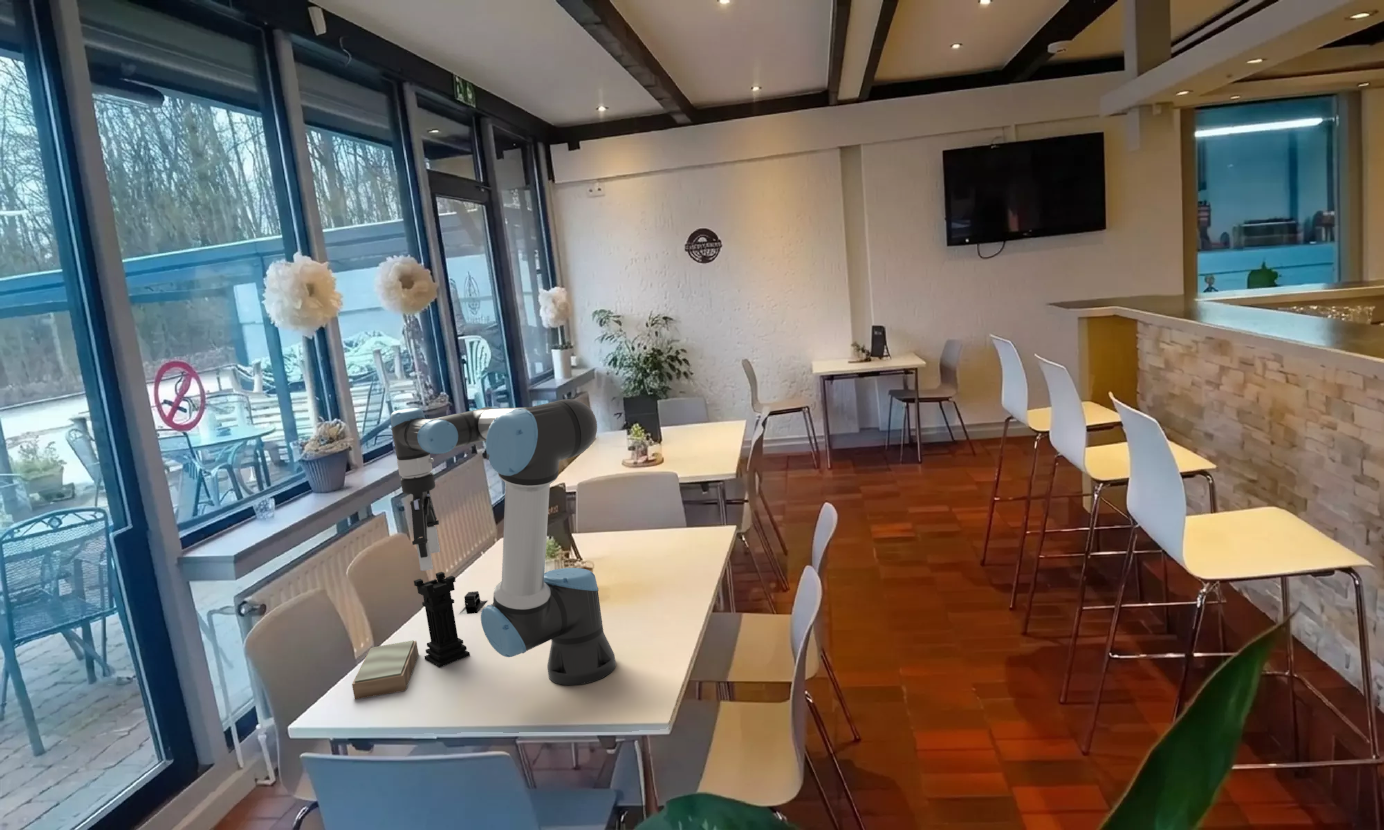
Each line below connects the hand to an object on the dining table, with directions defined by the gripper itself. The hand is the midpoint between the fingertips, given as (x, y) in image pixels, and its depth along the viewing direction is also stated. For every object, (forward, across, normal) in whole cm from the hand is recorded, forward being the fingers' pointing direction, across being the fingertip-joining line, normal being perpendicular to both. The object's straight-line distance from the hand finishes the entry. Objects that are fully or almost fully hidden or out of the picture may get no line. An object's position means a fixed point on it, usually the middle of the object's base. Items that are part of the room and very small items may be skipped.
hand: (430, 560), depth 205 cm
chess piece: (+25, 0, 0) cm, 25 cm away
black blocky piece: (+25, +33, -4) cm, 41 cm away
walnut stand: (+24, -5, +13) cm, 28 cm away
